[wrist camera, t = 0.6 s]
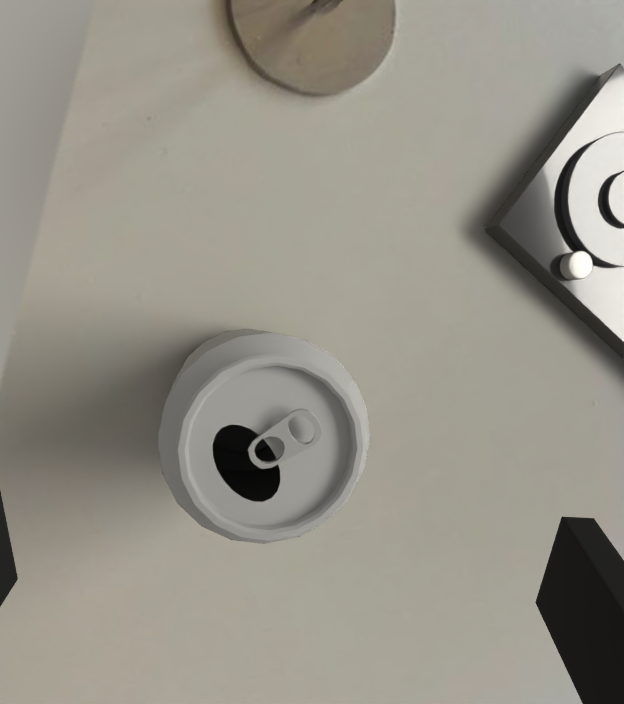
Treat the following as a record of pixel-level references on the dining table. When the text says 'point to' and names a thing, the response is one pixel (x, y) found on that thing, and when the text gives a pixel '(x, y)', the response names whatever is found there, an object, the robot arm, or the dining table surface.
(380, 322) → the dining table surface
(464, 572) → the dining table surface
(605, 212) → the hob
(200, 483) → the can
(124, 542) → the dining table surface
